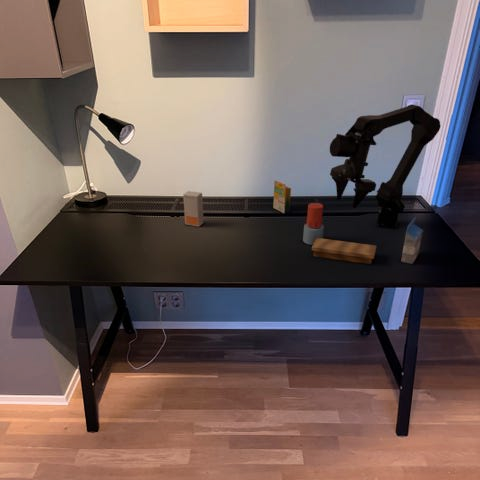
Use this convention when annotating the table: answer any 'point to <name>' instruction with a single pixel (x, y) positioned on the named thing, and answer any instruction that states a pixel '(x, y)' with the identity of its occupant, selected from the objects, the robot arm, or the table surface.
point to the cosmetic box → (193, 208)
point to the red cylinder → (314, 215)
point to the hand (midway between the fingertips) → (346, 203)
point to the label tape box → (412, 243)
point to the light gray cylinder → (312, 234)
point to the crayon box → (281, 197)
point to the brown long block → (344, 250)
